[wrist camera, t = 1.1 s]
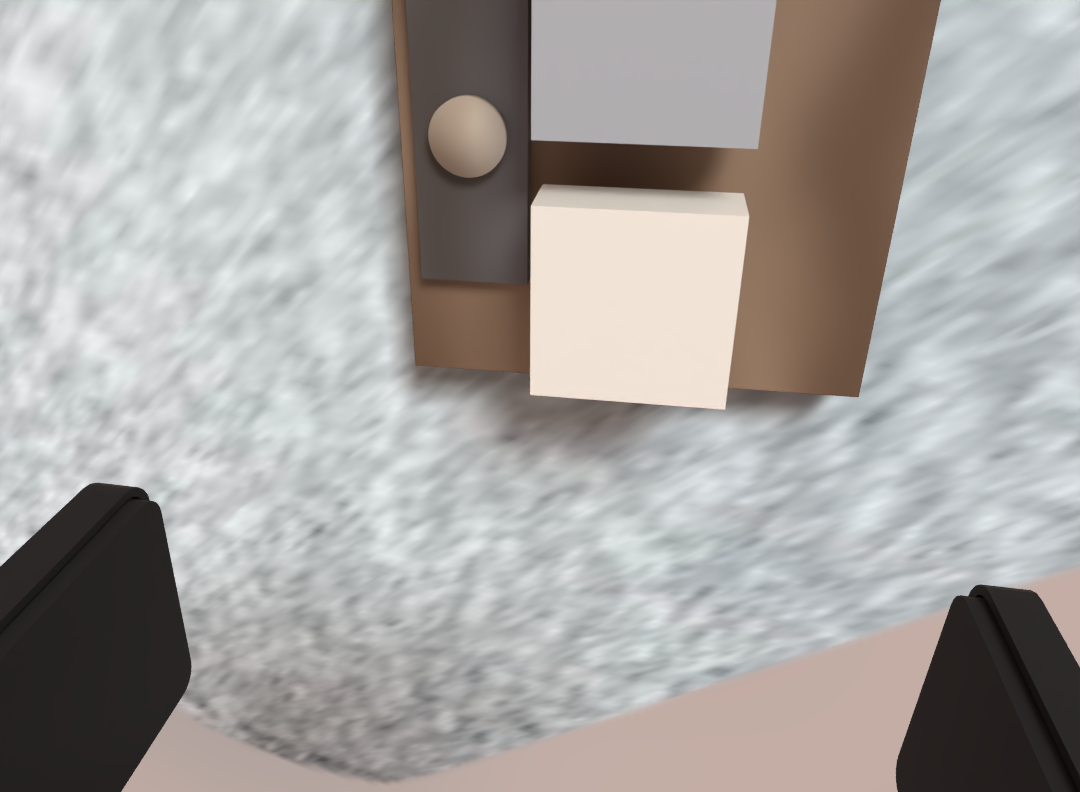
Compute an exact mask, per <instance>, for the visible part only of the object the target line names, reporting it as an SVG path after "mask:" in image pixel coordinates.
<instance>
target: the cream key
mask: <svg viewBox="0 0 1080 792" xmlns="http://www.w3.org/2000/svg"><path fill="white" fill-rule="evenodd" d="M748 223H749V213H748V209H747V205H746V200H745V196H744V193H727V192H705V191H683V190H661V189H639V188H617V187H595V186H573V185H551V184H543V185H542V186H541V188H540V190H539V192H538V194H537V195H536V197H535V199H534V201H533V203H532V205H531V291H530V395H537V396H551V397H564V398H577V399H591V400H604V401H617V402H630V403H644V404H657V405H670V406H683V407H697V408H710V409H723V410H725V406H726V398H727V391H728V383H729V375H730V367H731V359H732V351H733V343H734V335H735V327H736V319H737V311H738V303H739V295H740V287H741V279H742V271H743V263H744V255H745V247H746V239H747V231H748Z"/></svg>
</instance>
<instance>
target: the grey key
mask: <svg viewBox="0 0 1080 792" xmlns="http://www.w3.org/2000/svg"><path fill="white" fill-rule="evenodd" d="M776 1H777V0H532V42H531V140H542V141H567V142H592V143H618V144H643V145H668V146H694V147H719V148H744V149H758V144H759V136H760V128H761V120H762V112H763V104H764V96H765V88H766V80H767V72H768V64H769V56H770V49H771V41H772V33H773V25H774V17H775V9H776Z"/></svg>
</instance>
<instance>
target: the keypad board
mask: <svg viewBox="0 0 1080 792" xmlns="http://www.w3.org/2000/svg"><path fill="white" fill-rule="evenodd" d="M940 1H941V0H777V1H776V9H775V17H774V25H773V33H772V41H771V49H770V56H769V64H768V72H767V80H766V88H765V96H764V104H763V112H762V120H761V128H760V136H759V144H758V149H744V148H719V147H694V146H668V145H643V144H618V143H592V142H567V141H542V140H531V42H532V0H392V10H393V25H394V40H395V55H396V71H397V86H398V101H399V117H400V132H401V147H402V162H403V178H404V193H405V208H406V224H407V239H408V254H409V269H410V285H411V300H412V315H413V330H414V346H415V361H416V365H421V366H434V367H448V368H462V369H476V370H490V371H503V372H517V373H530V291H531V205H532V203H533V201H534V199H535V197H536V195H537V194H538V192H539V190H540V188H541V186H542V185H543V184H551V185H573V186H595V187H617V188H639V189H661V190H683V191H705V192H727V193H744V196H745V200H746V205H747V209H748V213H749V223H748V231H747V239H746V247H745V255H744V263H743V271H742V279H741V287H740V295H739V303H738V311H737V319H736V327H735V335H734V343H733V351H732V359H731V367H730V375H729V383H728V388H738V389H752V390H766V391H780V392H793V393H807V394H821V395H835V396H849V397H859V392H860V387H861V383H862V378H863V373H864V368H865V363H866V358H867V354H868V349H869V344H870V339H871V334H872V329H873V325H874V320H875V315H876V310H877V305H878V301H879V296H880V291H881V286H882V281H883V276H884V272H885V267H886V262H887V257H888V252H889V247H890V243H891V238H892V233H893V228H894V223H895V219H896V214H897V209H898V204H899V199H900V194H901V190H902V185H903V180H904V175H905V170H906V165H907V161H908V156H909V151H910V146H911V141H912V137H913V132H914V127H915V122H916V117H917V112H918V108H919V103H920V98H921V93H922V88H923V83H924V79H925V74H926V69H927V64H928V59H929V55H930V50H931V45H932V40H933V35H934V30H935V26H936V21H937V16H938V11H939V6H940Z"/></svg>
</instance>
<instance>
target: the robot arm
mask: <svg viewBox="0 0 1080 792" xmlns="http://www.w3.org/2000/svg"><path fill="white" fill-rule="evenodd" d="M190 675H191V658H190V653H189V648H188V643H187V638H186V633H185V628H184V623H183V618H182V613H181V608H180V603H179V598H178V593H177V588H176V583H175V578H174V573H173V568H172V563H171V558H170V553H169V548H168V543H167V538H166V533H165V528H164V523H163V518H162V513H161V510H160V507H159V505H158V504H157V503H156V502H153V501H150V500H149V497H148V494H147V493H146V492H145V491H144V490H143V489H141V488H138V487H130V486H121V485H113V484H104V483H92V484H89V485H88V486H86V487H85V488H83V489H82V490H81V491H80V492H79V493H78V494H77V495H76V496H75V497H74V498H73V499H72V500H71V501H70V502H69V503H68V504H66V505H65V506H64V507H63V508H62V509H61V510H60V511H59V512H58V513H57V514H56V515H55V516H54V517H53V518H52V519H50V520H49V521H48V522H47V523H46V524H45V525H44V526H43V527H42V528H41V529H40V530H39V531H38V532H37V533H36V534H35V535H33V536H32V537H31V538H30V539H29V540H28V541H27V542H26V543H25V544H24V545H23V546H22V547H21V548H20V549H19V550H17V551H16V552H15V553H14V554H13V555H12V556H11V557H10V558H9V559H8V560H7V561H6V562H5V563H4V564H3V565H2V566H0V792H121V791H122V789H123V788H124V786H125V785H126V783H127V781H128V780H129V778H130V777H131V775H132V774H133V772H134V771H135V769H136V768H137V766H138V765H139V763H140V761H141V760H142V758H143V757H144V755H145V754H146V752H147V750H148V749H149V747H150V746H151V744H152V742H153V741H154V740H155V738H156V736H157V735H158V733H159V732H160V730H161V729H162V727H163V726H164V724H165V722H166V721H167V719H168V718H169V716H170V715H171V713H172V711H173V710H174V708H175V707H176V705H177V704H178V702H179V701H180V699H181V698H182V696H183V694H184V692H185V691H186V689H187V686H188V683H189V680H190ZM896 783H897V790H898V792H1080V667H1079V665H1078V663H1077V662H1076V660H1075V658H1074V656H1073V655H1072V653H1071V651H1070V649H1069V648H1068V646H1067V644H1066V642H1065V640H1064V639H1063V637H1062V635H1061V633H1060V632H1059V630H1058V628H1057V626H1056V624H1055V623H1054V621H1053V619H1052V617H1051V616H1050V614H1049V612H1048V611H1047V609H1046V607H1045V605H1044V603H1043V601H1042V600H1041V599H1040V597H1039V596H1038V595H1037V593H1035V592H1033V591H1031V590H1023V589H1015V588H1006V587H997V586H989V585H976V586H975V587H974V588H973V589H972V590H971V592H970V594H969V596H961V595H960V596H957V597H956V598H955V599H954V600H953V602H952V604H951V606H950V609H949V612H948V615H947V618H946V621H945V624H944V626H943V629H942V632H941V635H940V638H939V641H938V644H937V647H936V650H935V652H934V655H933V658H932V661H931V664H930V667H929V670H928V673H927V675H926V678H925V681H924V684H923V687H922V690H921V693H920V696H919V698H918V701H917V704H916V707H915V710H914V713H913V715H912V718H911V721H910V724H909V727H908V730H907V733H906V736H905V738H904V742H903V744H902V747H901V750H900V753H899V756H898V760H897V766H896Z"/></svg>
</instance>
